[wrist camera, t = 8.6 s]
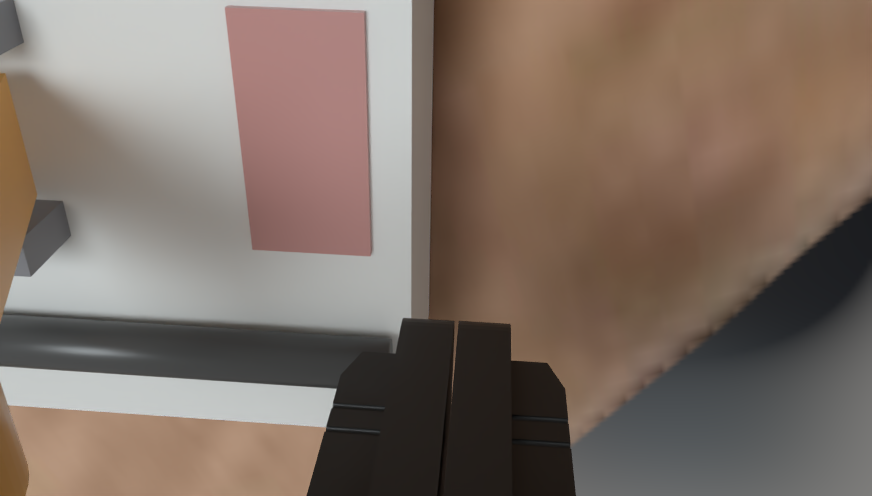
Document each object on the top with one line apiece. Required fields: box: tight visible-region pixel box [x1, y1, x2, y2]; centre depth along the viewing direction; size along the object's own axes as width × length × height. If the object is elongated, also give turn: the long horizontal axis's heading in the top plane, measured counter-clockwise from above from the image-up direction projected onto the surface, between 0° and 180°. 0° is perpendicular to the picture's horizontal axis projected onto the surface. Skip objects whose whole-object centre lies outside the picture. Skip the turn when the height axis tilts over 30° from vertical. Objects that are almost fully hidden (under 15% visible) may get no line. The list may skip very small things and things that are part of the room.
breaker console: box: [0, 0, 434, 427], centre depth 21 cm, size 20×18×8 cm
